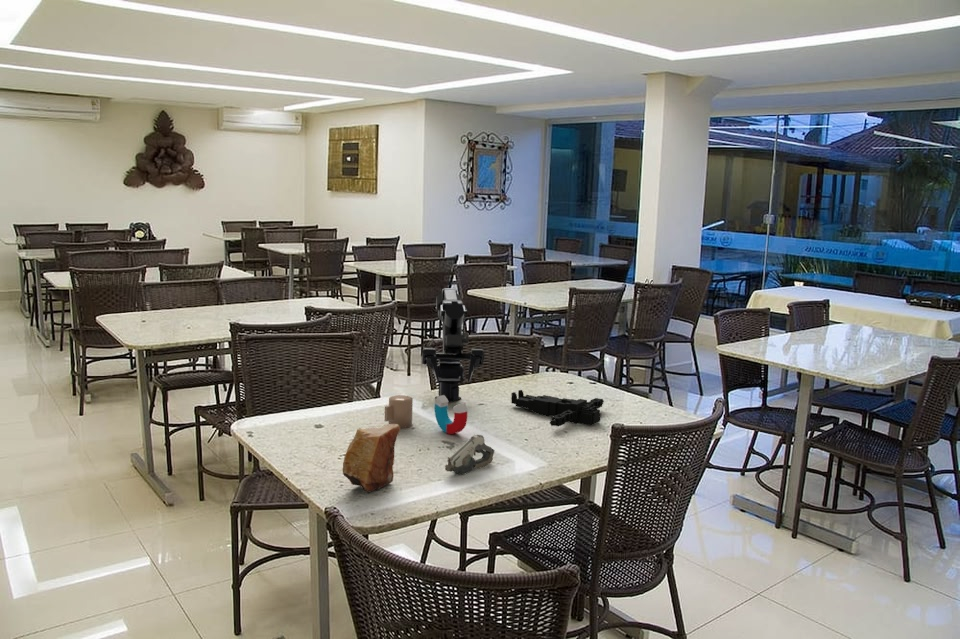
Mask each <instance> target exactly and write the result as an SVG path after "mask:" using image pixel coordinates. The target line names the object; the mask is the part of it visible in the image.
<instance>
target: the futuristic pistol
mask: <svg viewBox="0 0 960 639" xmlns="http://www.w3.org/2000/svg"><path fill="white" fill-rule="evenodd" d="M485 441H486V440H485V437H484V435H482V434H473V435H472V436H470V438H469V440H467V441H466V442H464V444H463V445H461V446H460V448H458V449H457V450H456V451H455V452H454V453H453V454H452V455H451V456H450V457H447V460H446V461H447V464H445V466H444V467H445V468H444V469H445V471H446V472H451V473H452V472H453V473H455V474H458V475H465V473H466V474H468V473H471V472H472V471H473V469H474V468H476V469H480V467H481V468H484V467H485V466H488V465H489V464H491V463H492V462H493V461H494V460H493V459H494V454H495V449H493V448H492V447H491V446H489V445H487V444H486V443H485ZM476 453H477V454H482V456H481V457H480V458H478V459H475V458H474V456H476ZM483 466H484V467H483Z"/></svg>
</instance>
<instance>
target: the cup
mask: <svg viewBox="0 0 960 639" xmlns="http://www.w3.org/2000/svg"><path fill="white" fill-rule="evenodd" d="M413 399H414V398H413V397H412V396H409V395H405V394H404V395H392V396H390V397H389V398H388V405H384V421H385V422H388V424H398V425H399V426H400V429H406V428H407V429H408V428H410V427H412V426H413Z"/></svg>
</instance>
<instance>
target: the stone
mask: <svg viewBox="0 0 960 639" xmlns="http://www.w3.org/2000/svg"><path fill="white" fill-rule="evenodd" d="M400 431H401V428H400V426H399V425H398V424H389V423H388V424H383V425H381V427H365V428H364V429H363V428H362V427H358V428H357V430H356V433H355V434H354V436H353V439H352V440H351V442H350V443H349V445H348V446H347V450H346V451H345V454H344V458H343V463H342V474H343V476H344V477H345V478H347V480H349V482H350V484H351V485H352V486H359V487H361V489H362V490H364V491H366V492H367V493H368V492H372V491H375V490H377V491H378V490H380V489H382V488H383V487H385V486H386V485H390V484H391V483H393V481H394V478H395V477H394V463H395V446H396V442H397V438H398V435H399V432H400Z"/></svg>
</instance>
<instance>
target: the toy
mask: <svg viewBox="0 0 960 639" xmlns="http://www.w3.org/2000/svg"><path fill="white" fill-rule="evenodd" d="M517 394H518V395H517ZM510 402H511V404H514V405H515V407H519V408H523V409H527V410H528V411H531V412H533V414H538V415H539V416H543V417H550V416H551V420H550V422H549V424H550V426H551V427H553V426H554V427H561V426H563V425H565V424H566V423H567V422H568V423H570V424H575V425H578V424H581V425H586V426H590V427H592V426H593V425H596V424H597V423H600V422H601V416H602V413H601V410H600V408H602V407H603V405H604V402H605V400H604V399H603V398H597V397H595V398H593V399H590V400H589V401H588V400H587V399H583V398H578V399H573V398H571V399H570V398H566V397H563V398H559V397H556V396H550V395H546V394H545V395H537V396H536V395H532V394H531V395H529V394H524V391H523V389H519V390H518V392H517V393H516V392H511V400H510Z"/></svg>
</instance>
